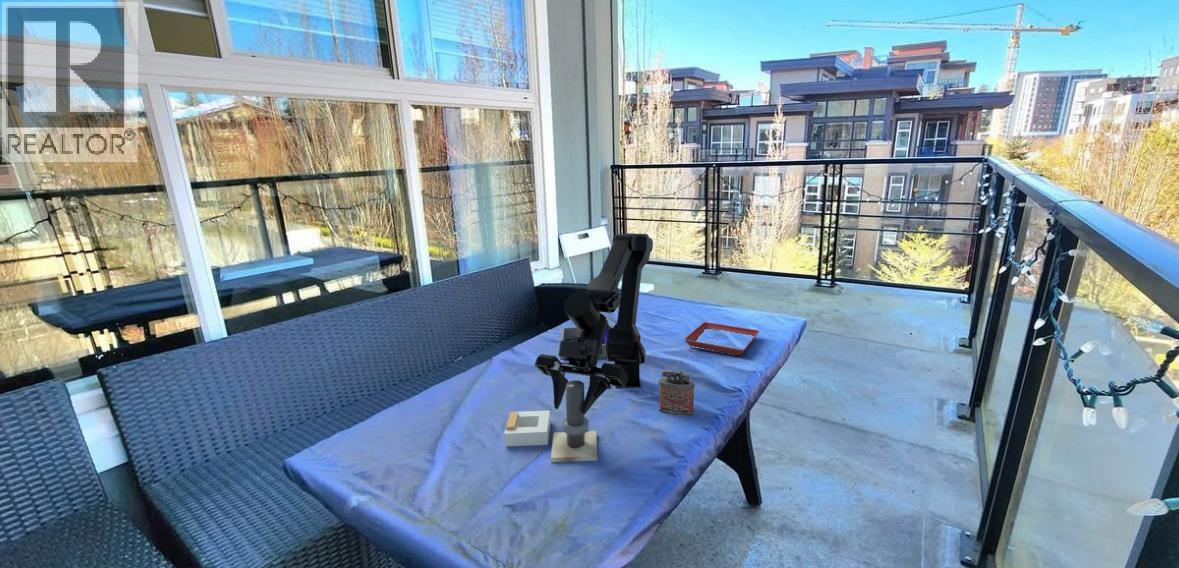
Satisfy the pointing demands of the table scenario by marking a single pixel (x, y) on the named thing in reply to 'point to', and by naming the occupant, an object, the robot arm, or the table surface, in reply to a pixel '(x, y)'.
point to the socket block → (527, 428)
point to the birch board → (567, 454)
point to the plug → (575, 415)
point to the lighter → (676, 393)
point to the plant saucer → (698, 331)
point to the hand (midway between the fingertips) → (569, 411)
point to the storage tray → (572, 331)
